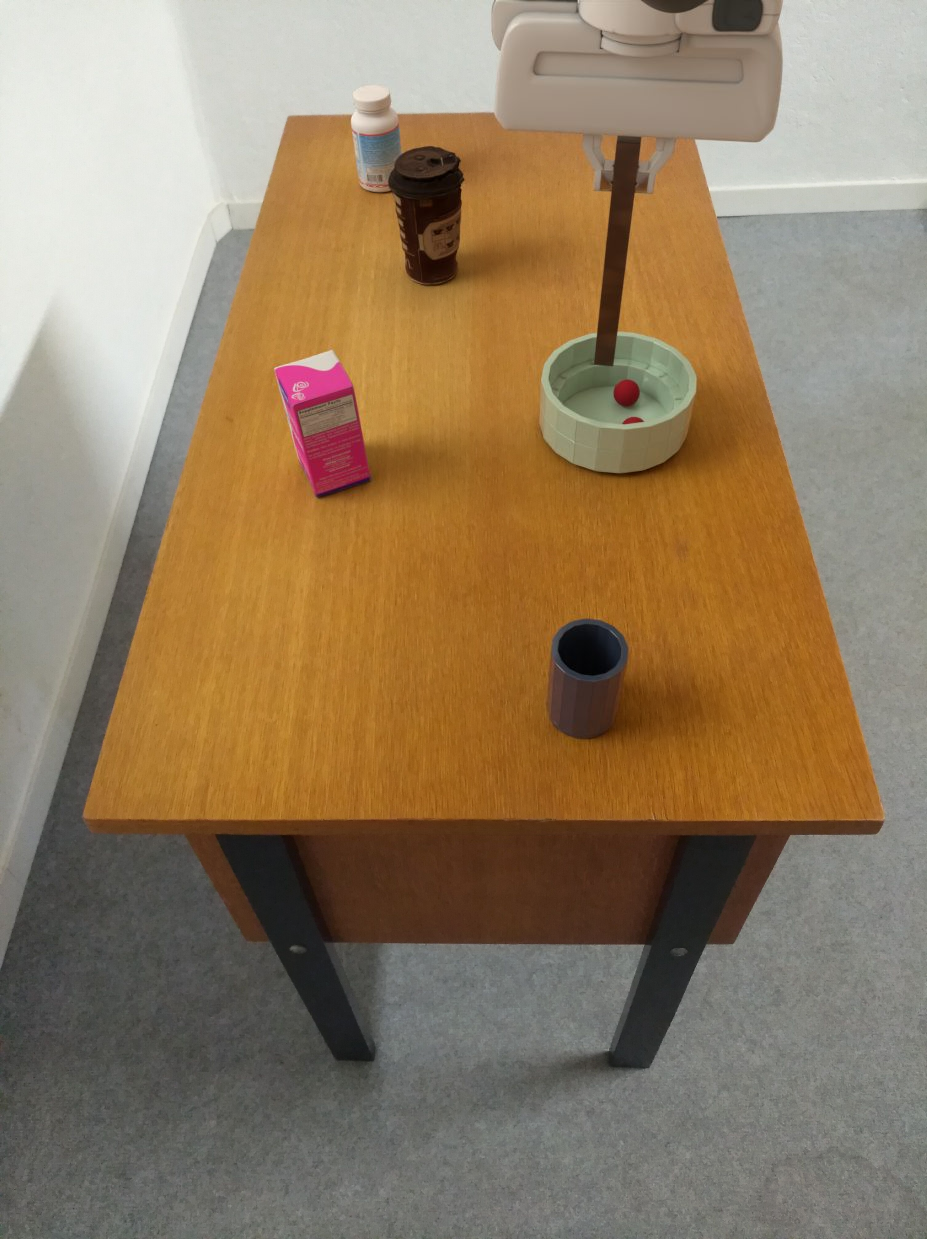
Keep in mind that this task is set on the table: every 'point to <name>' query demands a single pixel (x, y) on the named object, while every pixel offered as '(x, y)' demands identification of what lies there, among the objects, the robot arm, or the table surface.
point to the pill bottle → (375, 136)
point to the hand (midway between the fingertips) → (623, 189)
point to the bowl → (591, 418)
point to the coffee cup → (428, 211)
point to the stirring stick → (616, 246)
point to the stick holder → (586, 677)
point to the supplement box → (324, 422)
